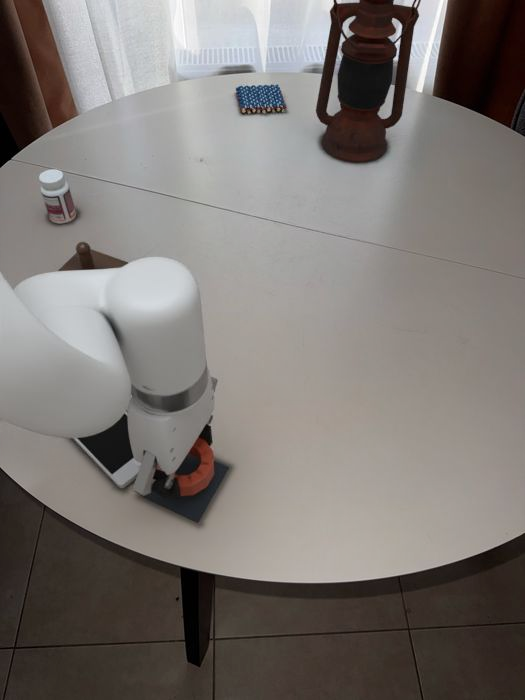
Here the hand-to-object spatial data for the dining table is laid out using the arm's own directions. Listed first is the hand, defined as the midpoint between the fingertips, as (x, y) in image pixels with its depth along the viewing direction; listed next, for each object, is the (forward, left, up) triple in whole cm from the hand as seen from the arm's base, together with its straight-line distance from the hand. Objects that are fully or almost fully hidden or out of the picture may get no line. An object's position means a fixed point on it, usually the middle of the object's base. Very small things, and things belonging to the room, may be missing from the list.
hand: (184, 465), depth 68 cm
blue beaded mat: (+90, +32, -4) cm, 96 cm away
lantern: (+83, +7, -4) cm, 83 cm away
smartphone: (+1, +13, -4) cm, 13 cm away
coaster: (0, 0, -4) cm, 4 cm away
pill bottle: (+36, +46, -4) cm, 59 cm away
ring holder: (+25, +32, -4) cm, 41 cm away
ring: (0, 0, -1) cm, 1 cm away
